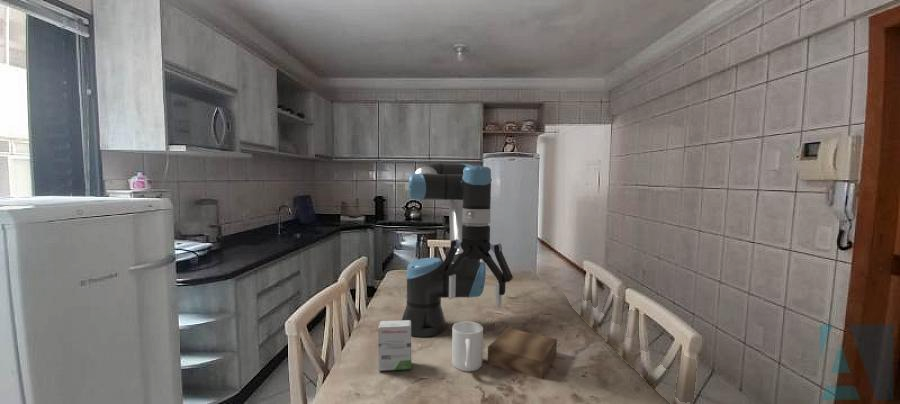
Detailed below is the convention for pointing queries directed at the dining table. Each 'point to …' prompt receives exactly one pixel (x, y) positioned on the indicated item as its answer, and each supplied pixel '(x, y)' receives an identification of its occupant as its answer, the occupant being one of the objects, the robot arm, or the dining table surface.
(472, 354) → the mug
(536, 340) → the walnut block
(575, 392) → the dining table surface
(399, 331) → the ink box
